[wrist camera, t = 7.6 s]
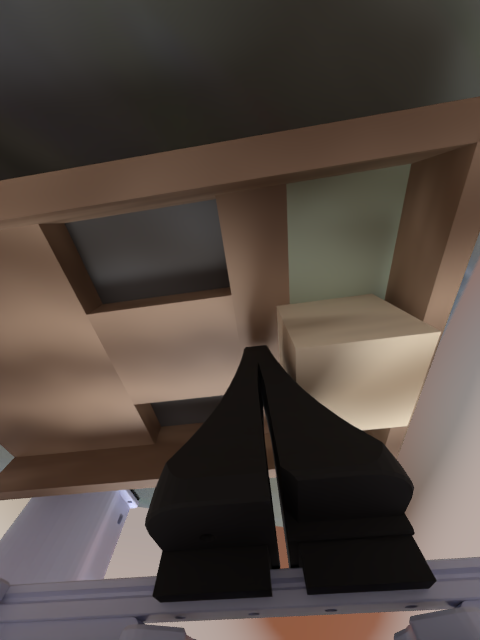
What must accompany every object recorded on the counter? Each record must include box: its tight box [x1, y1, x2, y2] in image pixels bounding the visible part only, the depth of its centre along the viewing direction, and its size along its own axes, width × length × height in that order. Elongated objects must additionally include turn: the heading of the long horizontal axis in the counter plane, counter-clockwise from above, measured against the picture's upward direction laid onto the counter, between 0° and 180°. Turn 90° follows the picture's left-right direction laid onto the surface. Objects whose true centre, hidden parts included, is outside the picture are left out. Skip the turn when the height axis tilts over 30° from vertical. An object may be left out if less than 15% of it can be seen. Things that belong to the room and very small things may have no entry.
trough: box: [0, 97, 480, 500], centre depth 12 cm, size 18×29×4 cm, turn 98°
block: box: [277, 294, 441, 430], centre depth 10 cm, size 5×5×4 cm
